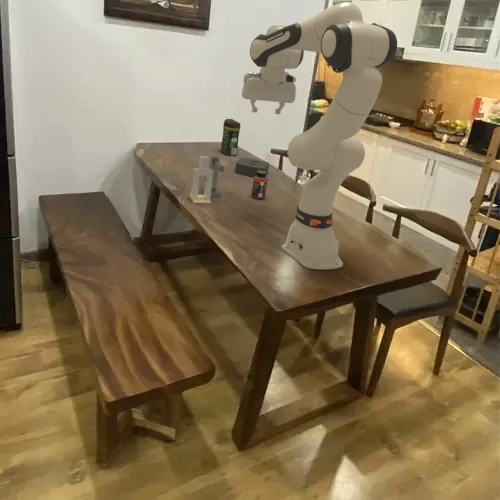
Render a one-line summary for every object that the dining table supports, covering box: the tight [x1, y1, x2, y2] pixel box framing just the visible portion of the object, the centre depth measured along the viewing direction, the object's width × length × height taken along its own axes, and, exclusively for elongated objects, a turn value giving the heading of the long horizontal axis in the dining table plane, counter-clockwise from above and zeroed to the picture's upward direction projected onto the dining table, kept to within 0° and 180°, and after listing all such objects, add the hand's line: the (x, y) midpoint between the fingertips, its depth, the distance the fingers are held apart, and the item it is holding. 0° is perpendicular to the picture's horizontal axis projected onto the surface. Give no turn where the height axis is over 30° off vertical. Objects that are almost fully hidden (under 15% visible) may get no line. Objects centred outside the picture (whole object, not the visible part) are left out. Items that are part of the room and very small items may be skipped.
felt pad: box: [189, 194, 212, 204], centre depth 196 cm, size 8×7×1 cm
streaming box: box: [234, 157, 270, 178], centre depth 240 cm, size 14×14×5 cm
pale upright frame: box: [190, 155, 213, 201], centre depth 193 cm, size 3×7×17 cm, turn 109°
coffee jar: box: [220, 118, 241, 157], centre depth 264 cm, size 10×8×19 cm
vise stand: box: [200, 154, 225, 198], centre depth 199 cm, size 15×7×16 cm, turn 19°
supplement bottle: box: [251, 171, 269, 200], centre depth 207 cm, size 6×6×11 cm
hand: (266, 113), depth 183 cm, fingers open, 8 cm apart
